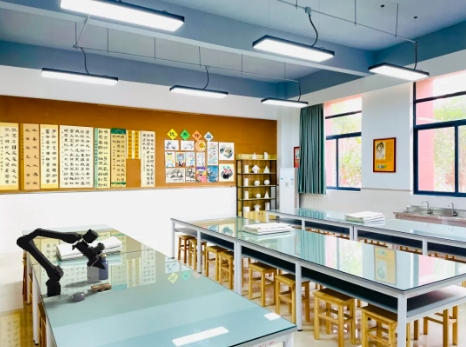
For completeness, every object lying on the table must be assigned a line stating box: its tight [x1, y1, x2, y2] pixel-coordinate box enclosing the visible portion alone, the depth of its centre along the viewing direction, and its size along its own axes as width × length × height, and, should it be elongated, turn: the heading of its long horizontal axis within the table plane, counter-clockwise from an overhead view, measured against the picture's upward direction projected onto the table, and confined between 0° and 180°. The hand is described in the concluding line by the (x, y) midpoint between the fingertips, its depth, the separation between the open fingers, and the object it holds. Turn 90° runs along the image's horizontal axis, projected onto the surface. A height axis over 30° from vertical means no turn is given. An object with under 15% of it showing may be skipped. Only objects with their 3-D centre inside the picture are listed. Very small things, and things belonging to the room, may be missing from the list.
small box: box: [86, 260, 103, 283], centre depth 220 cm, size 8×6×13 cm
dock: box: [90, 282, 113, 294], centre depth 204 cm, size 10×7×2 cm
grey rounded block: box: [72, 291, 86, 303], centre depth 189 cm, size 6×6×3 cm
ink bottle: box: [98, 253, 109, 281], centre depth 202 cm, size 5×5×14 cm
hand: (105, 267), depth 203 cm, fingers closed on ink bottle, 5 cm apart
